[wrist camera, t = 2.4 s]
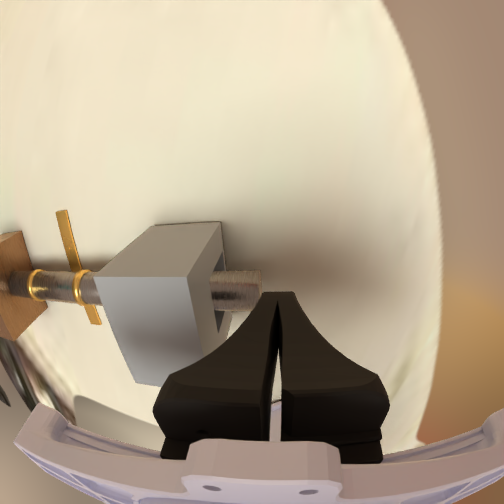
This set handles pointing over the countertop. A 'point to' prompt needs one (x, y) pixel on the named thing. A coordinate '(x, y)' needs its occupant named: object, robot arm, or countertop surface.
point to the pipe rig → (86, 284)
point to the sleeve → (165, 299)
